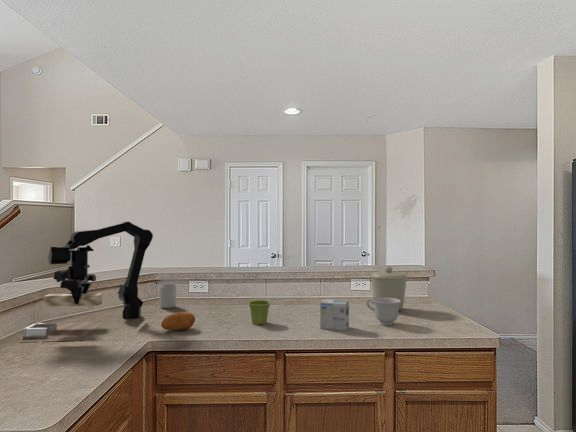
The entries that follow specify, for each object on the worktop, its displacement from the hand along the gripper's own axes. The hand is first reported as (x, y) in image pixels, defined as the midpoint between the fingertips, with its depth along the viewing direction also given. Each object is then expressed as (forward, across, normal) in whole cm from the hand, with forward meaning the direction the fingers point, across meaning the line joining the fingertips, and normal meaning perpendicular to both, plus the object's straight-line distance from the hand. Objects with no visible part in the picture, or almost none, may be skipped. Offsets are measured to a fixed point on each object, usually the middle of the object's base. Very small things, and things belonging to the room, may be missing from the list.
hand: (79, 302), depth 152 cm
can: (+11, -37, +27) cm, 47 cm away
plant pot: (+11, -3, +71) cm, 72 cm away
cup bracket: (+9, +11, -9) cm, 17 cm away
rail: (+1, 0, -2) cm, 2 cm away
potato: (+11, +5, +39) cm, 41 cm away
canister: (+11, -23, +135) cm, 137 cm away
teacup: (+11, +2, +123) cm, 123 cm away
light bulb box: (+11, +7, +101) cm, 102 cm away
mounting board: (+10, +6, -2) cm, 12 cm away
